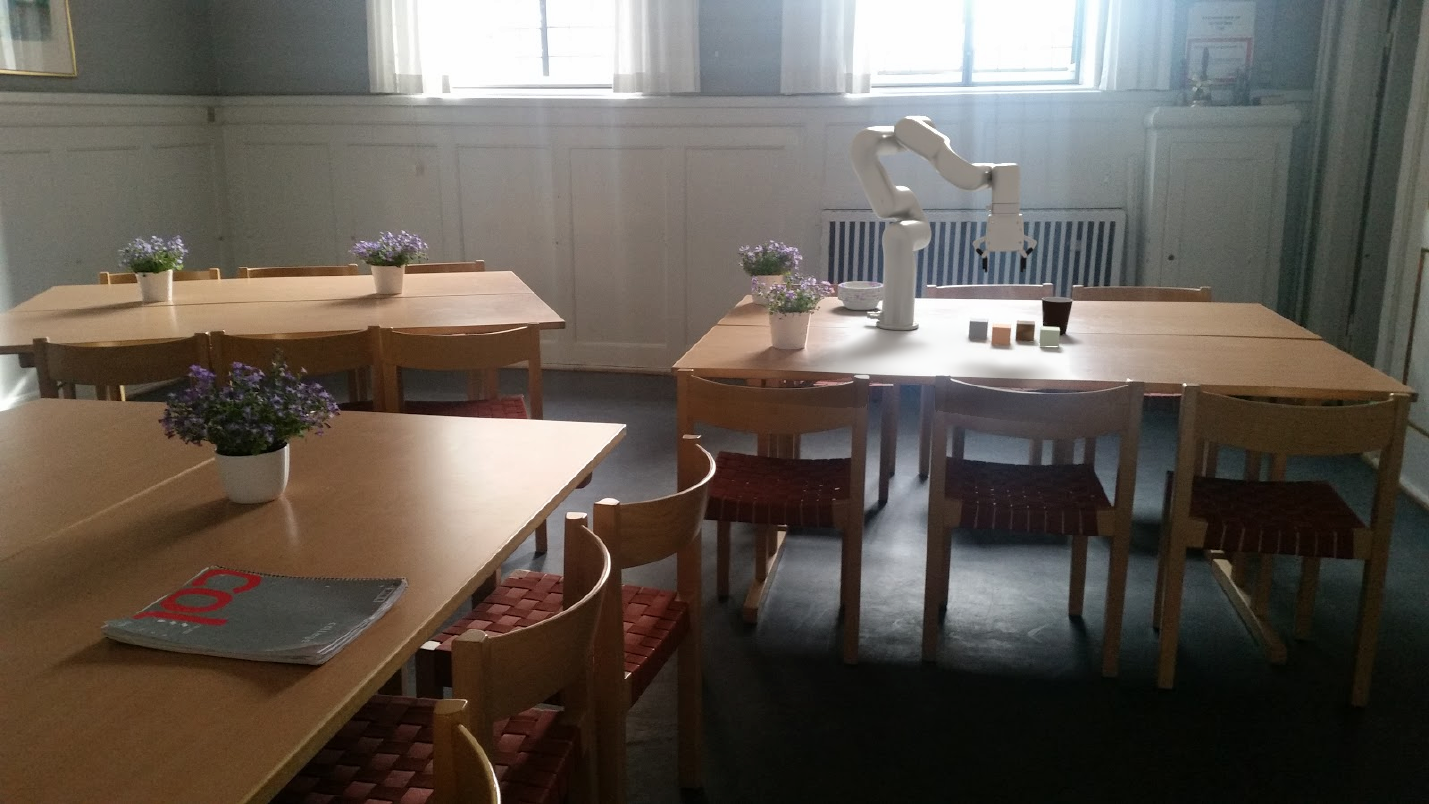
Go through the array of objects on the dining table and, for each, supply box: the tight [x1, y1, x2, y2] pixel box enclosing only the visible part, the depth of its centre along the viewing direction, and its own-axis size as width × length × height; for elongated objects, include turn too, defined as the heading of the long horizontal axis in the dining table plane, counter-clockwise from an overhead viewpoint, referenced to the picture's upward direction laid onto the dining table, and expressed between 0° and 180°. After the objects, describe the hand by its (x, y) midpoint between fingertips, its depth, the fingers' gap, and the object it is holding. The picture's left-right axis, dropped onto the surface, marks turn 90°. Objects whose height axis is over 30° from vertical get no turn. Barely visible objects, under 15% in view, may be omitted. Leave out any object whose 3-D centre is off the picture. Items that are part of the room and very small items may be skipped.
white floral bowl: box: [837, 280, 883, 311], centre depth 362 cm, size 15×15×8 cm
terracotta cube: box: [990, 323, 1012, 346], centre depth 311 cm, size 5×5×5 cm
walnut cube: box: [1015, 319, 1036, 342], centre depth 316 cm, size 5×5×5 cm
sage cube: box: [1039, 325, 1061, 348], centre depth 308 cm, size 5×5×5 cm
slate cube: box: [968, 317, 989, 340], centre depth 319 cm, size 5×5×5 cm
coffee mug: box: [1041, 296, 1074, 336], centre depth 325 cm, size 12×9×10 cm
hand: (1003, 271), depth 308 cm, fingers open, 9 cm apart
